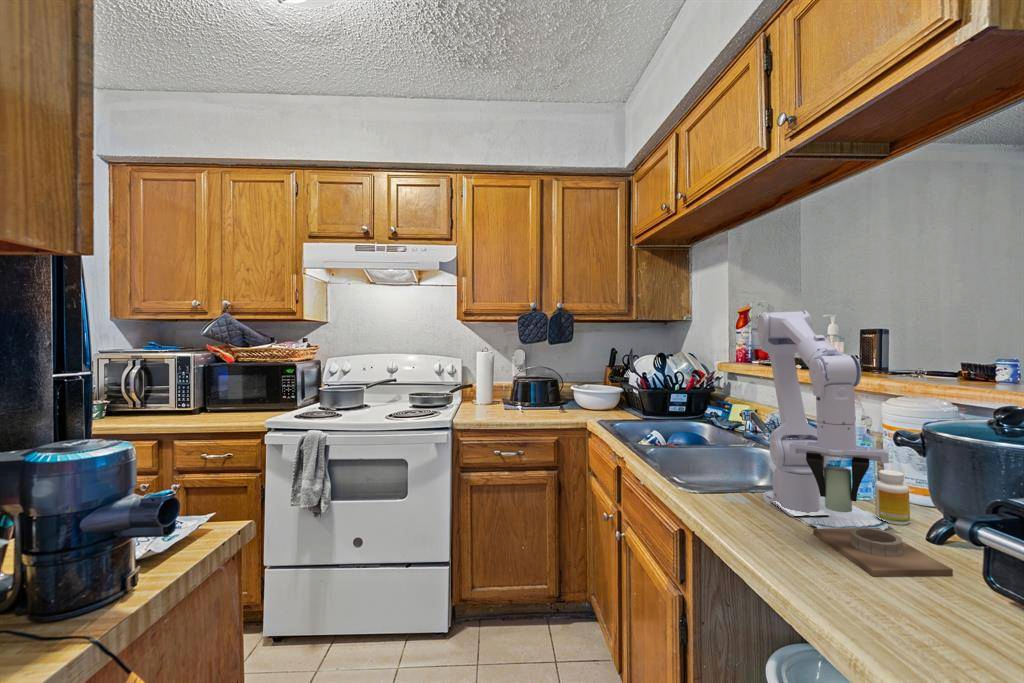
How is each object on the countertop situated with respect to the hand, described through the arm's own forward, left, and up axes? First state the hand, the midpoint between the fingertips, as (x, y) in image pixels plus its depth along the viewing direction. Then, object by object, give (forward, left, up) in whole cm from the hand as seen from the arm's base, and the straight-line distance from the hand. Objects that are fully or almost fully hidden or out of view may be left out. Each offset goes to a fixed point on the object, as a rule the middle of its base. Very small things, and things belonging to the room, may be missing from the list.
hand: (838, 497), depth 84 cm
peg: (0, 0, -2) cm, 2 cm away
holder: (+2, +5, -9) cm, 10 cm away
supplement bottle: (-12, +18, -9) cm, 23 cm away
